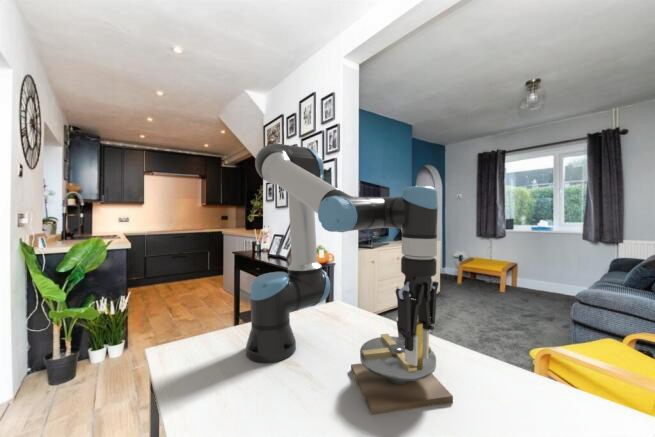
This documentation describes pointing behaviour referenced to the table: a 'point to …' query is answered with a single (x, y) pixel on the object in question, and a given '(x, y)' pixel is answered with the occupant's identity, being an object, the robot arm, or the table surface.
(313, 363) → the table surface
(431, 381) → the wheel stand
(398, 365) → the handwheel
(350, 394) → the table surface
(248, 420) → the table surface
